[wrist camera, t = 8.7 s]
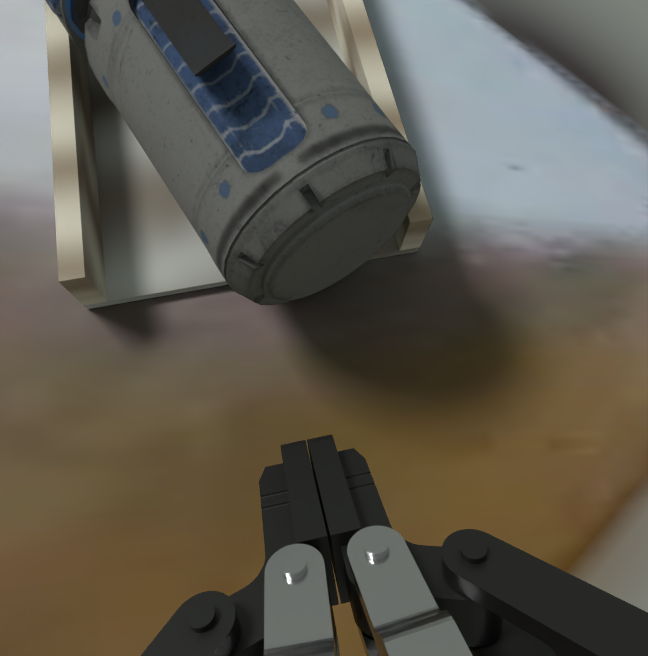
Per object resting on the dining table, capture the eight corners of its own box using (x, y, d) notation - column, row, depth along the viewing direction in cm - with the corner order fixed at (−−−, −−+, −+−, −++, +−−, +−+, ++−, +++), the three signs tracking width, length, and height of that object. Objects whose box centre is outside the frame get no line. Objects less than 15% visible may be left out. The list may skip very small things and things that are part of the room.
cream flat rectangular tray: (418, 251, 30) (432, 218, 26) (87, 309, 28) (58, 281, 24) (325, -53, 38) (328, -107, 34) (65, -25, 36) (40, -80, 32)
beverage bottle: (172, 275, 16) (-110, -187, 22) (283, 333, 29) (88, 32, 35) (441, 79, 16) (78, -345, 21) (433, 227, 28) (208, -62, 34)
